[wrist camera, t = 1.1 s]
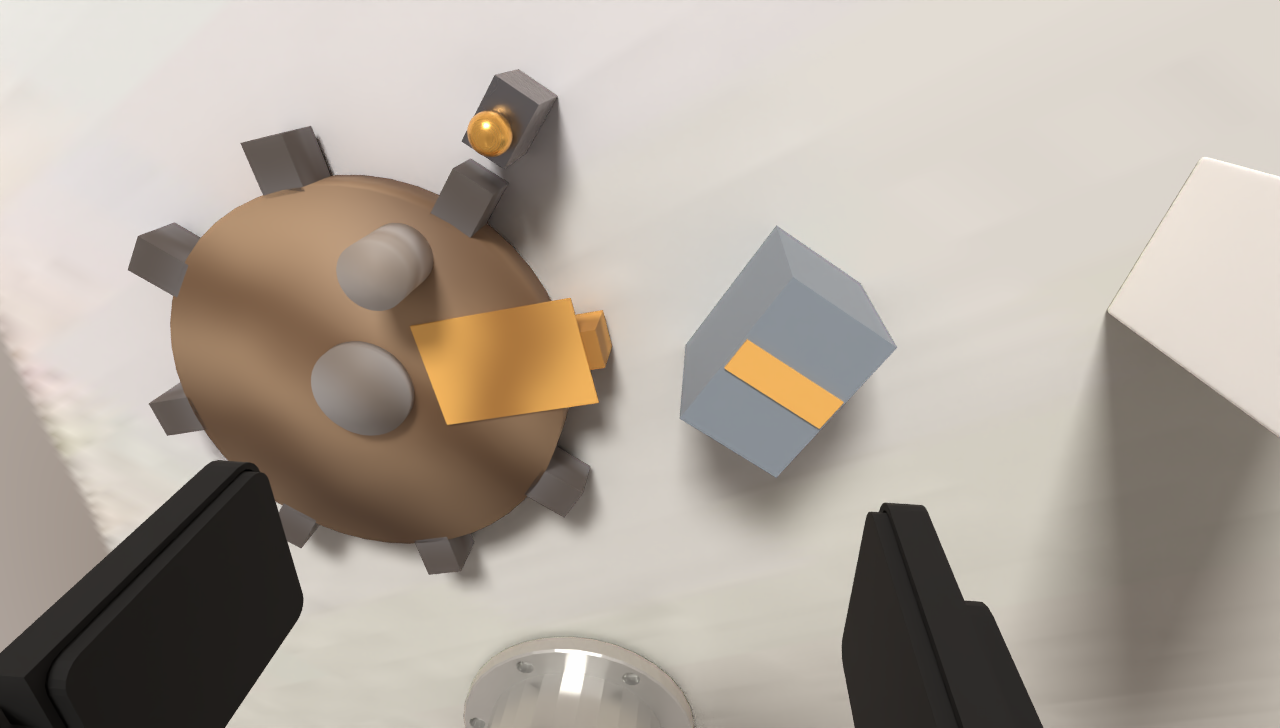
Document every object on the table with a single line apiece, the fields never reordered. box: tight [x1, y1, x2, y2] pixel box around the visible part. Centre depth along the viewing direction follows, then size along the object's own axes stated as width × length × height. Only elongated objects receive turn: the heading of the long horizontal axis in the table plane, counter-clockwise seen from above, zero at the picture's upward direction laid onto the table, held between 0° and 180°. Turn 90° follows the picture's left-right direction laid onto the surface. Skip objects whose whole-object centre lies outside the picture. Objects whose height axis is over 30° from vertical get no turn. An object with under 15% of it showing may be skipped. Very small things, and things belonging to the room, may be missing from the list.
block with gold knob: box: [462, 69, 557, 169], centre depth 23 cm, size 2×2×4 cm
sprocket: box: [128, 126, 612, 575], centre depth 28 cm, size 20×20×4 cm
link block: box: [680, 226, 897, 477], centre depth 25 cm, size 6×4×6 cm, turn 147°
